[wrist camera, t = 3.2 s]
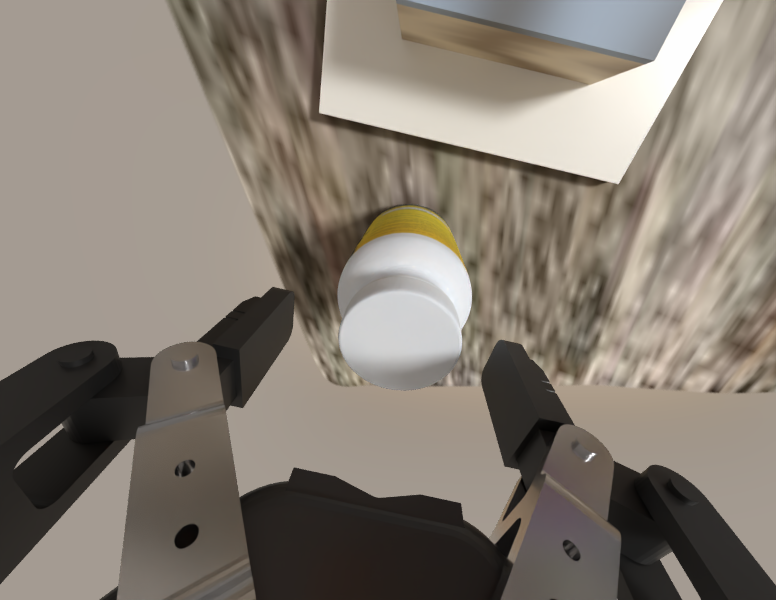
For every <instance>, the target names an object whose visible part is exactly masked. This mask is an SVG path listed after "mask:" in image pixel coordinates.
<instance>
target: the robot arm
mask: <svg viewBox="0 0 776 600" xmlns="http://www.w3.org/2000/svg"><path fill="white" fill-rule="evenodd" d="M293 315H294V292H293V291H288V290H284V289H280V288H275V287H272V288H271V289H270V290H269V291H268V292H267V293H266V294H265V295H264V296H262V297H261V298H260V297H253V298H250V299H248V300H246V301H243V302H242V303H241V304H239V305H238V306H237V307H236V308H235V309H234V310H233V312H230V313H229V314H228V315H227V316H226V318H223V319H222V320H221V321H220V322H219V323H218V324H216V325H215V326H214V327H213V328H212V329H211V330H210V331H208V332H207V333H206V334H205V335H204V336H203V337H202V338H200V339H199V340H198V341H197V342H184V343H180V344H176V345H173V346H170V347H168V348H166V349H164V350H162V351H161V352H159V353H158V354H157V355H156V356H155V357H138V358H119V355H118V352H117V349H116V347H115V346H114V345H113V344H111V343H108V342H104V341H84V342H78V343H73V344H69V345H66V346H63V347H60V348H57V349H55V350H53V351H51V352H49V353H47V354H45V355H43V356H42V357H40V358H38V359H37V360H35V361H33V362H32V363H30V364H28V365H27V366H25V367H23V368H22V369H20V370H18V371H16V372H15V373H13V374H11V375H10V376H8V377H7V378H5V379H3V380H1V381H0V584H1V583H2V582H3V581H4V579H5V578H6V577H7V576H8V575H9V574H10V573H11V572H12V571H13V569H14V568H15V567H16V566H17V565H18V564H19V563H20V562H21V561H22V560H23V558H24V557H25V556H26V555H27V554H28V553H29V552H30V551H31V550H32V549H33V547H34V546H35V545H36V544H37V543H38V542H39V541H40V540H41V539H42V537H43V536H44V535H45V534H46V533H47V532H48V531H49V529H51V528H52V526H53V525H54V524H55V523H56V522H57V521H58V520H59V519H60V518H61V516H62V515H63V514H64V513H65V512H66V511H67V510H68V509H69V508H70V507H71V505H72V504H73V503H74V502H75V501H76V500H77V499H78V498H79V496H80V495H81V494H82V493H83V492H84V491H85V490H86V489H87V488H88V487H89V486H90V484H91V483H92V482H93V481H94V480H95V479H96V478H97V477H98V475H99V474H100V473H101V472H102V471H103V470H104V469H105V468H106V466H107V465H108V464H109V463H110V462H111V461H112V460H113V459H114V458H115V457H116V456H117V455H118V453H119V452H120V451H121V450H122V449H123V448H124V447H125V446H126V445H127V443H128V442H129V441H130V440H131V439H135V447H134V455H133V465H132V473H131V481H130V490H129V498H128V508H127V516H126V524H125V533H124V541H123V550H122V559H121V567H120V576H119V584H118V586H117V587H116V588H115V589H114V590H112V591H110V592H109V593H108V594H106V595H105V596H104V597H102V598H101V599H100V600H617V599H618V600H682V599H681V597H680V595H679V593H678V592H677V590H676V588H675V586H674V585H673V583H672V581H671V579H670V577H669V575H668V574H667V572H666V570H665V568H664V566H663V565H662V563H661V561H660V559H661V558H662V557H664V556H665V555H667V554H669V553H670V552H672V551H673V553H674V554H675V556H676V558H677V559H678V561H679V563H680V564H681V566H682V568H683V569H684V571H685V572H686V574H687V576H688V577H689V579H690V581H691V582H692V584H693V586H694V588H695V589H696V591H697V592H698V594H699V596H700V598H701V600H776V585H775V584H774V583H773V581H772V580H771V579H770V577H769V576H768V575H767V574H766V573H765V571H764V570H763V569H762V567H761V566H760V565H759V564H758V562H757V561H756V560H755V559H754V557H753V556H752V555H751V553H750V552H749V551H748V550H747V549H746V547H745V546H744V545H743V543H742V542H741V541H740V540H739V538H738V537H737V536H736V535H735V533H734V532H733V531H732V529H731V528H730V527H729V526H728V524H727V523H726V522H725V521H724V519H723V518H722V517H721V516H720V514H719V513H718V512H717V511H716V509H715V508H714V507H713V505H712V504H711V503H710V502H709V500H707V498H706V497H705V496H704V495H703V494H702V493H701V492H700V491H699V490H698V489H697V488H696V487H695V486H694V485H693V484H692V483H690V482H689V481H688V480H686V479H685V478H684V477H682V476H681V475H679V474H678V473H676V472H674V471H672V470H670V469H668V468H666V467H663V466H659V465H651V466H649V467H648V468H647V469H646V470H645V471H644V472H642V473H641V474H640V473H638V472H636V471H634V470H632V469H630V468H628V467H625V466H623V465H621V464H619V463H617V462H615V461H613V458H612V456H611V454H610V453H609V451H608V450H607V448H606V447H605V446H604V445H603V444H602V443H601V442H600V441H599V440H598V439H597V438H596V437H594V436H593V435H592V434H590V433H589V432H587V431H586V430H584V429H582V428H580V427H577V426H575V425H574V423H573V422H572V420H571V418H570V416H569V415H568V413H567V411H566V409H565V408H564V406H563V404H562V403H561V401H560V399H559V397H558V396H557V394H556V393H555V390H554V389H553V387H552V385H551V384H549V380H548V378H547V376H546V375H545V373H544V371H543V370H542V369H541V368H540V367H539V366H538V365H537V364H536V363H535V362H534V361H533V360H530V359H529V357H528V355H527V353H526V351H525V349H524V348H523V346H522V345H521V344H518V343H514V342H509V341H505V340H499V341H498V342H497V344H496V345H495V347H494V349H493V351H492V353H491V355H490V357H489V359H488V361H487V363H486V365H485V367H484V369H483V372H482V379H481V382H482V387H483V391H484V394H485V398H486V401H487V405H488V409H489V412H490V416H491V419H492V423H493V427H494V430H495V433H496V437H497V441H498V444H499V448H500V452H501V455H502V459H503V462H504V466H505V467H511V468H515V469H519V470H520V473H521V475H522V476H521V477H520V478H519V480H518V481H517V483H516V485H515V487H514V489H513V491H512V493H511V495H510V497H509V500H508V502H507V504H506V506H505V508H504V510H503V512H502V515H501V517H500V519H499V521H498V523H497V525H496V527H495V529H494V531H493V532H492V534H491V536H490V537H489V538H487V537H486V536H485V535H484V534H483V533H482V532H481V531H479V530H478V529H477V528H476V527H474V526H473V525H471V524H470V523H468V522H467V521H465V520H463V515H462V507H461V503H457V502H452V501H448V500H442V499H439V498H434V497H429V496H424V495H410V496H398V497H386V498H376V497H373V496H371V495H369V494H368V493H366V492H364V491H362V490H360V489H358V488H356V487H354V486H352V485H350V484H349V483H347V482H345V481H343V480H341V479H339V478H337V477H336V476H331V475H327V474H321V473H317V472H312V471H307V470H303V469H299V468H294V469H293V471H292V474H291V476H290V479H289V481H286V482H278V483H273V484H269V485H266V486H263V487H260V488H257V489H255V490H253V491H250V492H248V493H246V494H244V495H243V496H241V497H239V492H238V485H237V479H236V473H235V466H234V460H233V454H232V448H231V441H230V434H229V428H228V422H227V415H226V410H227V409H228V408H229V406H230V405H231V406H236V407H240V408H243V407H244V406H245V404H246V403H247V401H248V400H249V398H250V397H251V395H252V394H253V392H254V391H255V389H256V388H257V386H258V385H259V383H260V382H261V380H262V379H263V377H264V376H265V374H266V373H267V371H268V370H269V368H270V367H271V365H272V364H273V362H274V361H275V360H276V358H277V357H278V355H279V353H280V352H281V351H282V349H283V347H284V346H285V345H286V343H287V342H288V340H289V338H290V335H291V332H292V328H293ZM61 423H62V425H63V427H64V428H63V429H62V430H60V431H59V432H58V433H57V434H56V435H55V436H53V437H52V438H51V439H50V440H49V441H47V442H46V443H45V444H44V445H43V446H41V448H39V449H38V450H37V451H36V452H34V453H33V454H32V455H31V456H30V457H29V458H27V459H26V460H25V461H24V462H23V463H21V464H20V465H19V466H18V467H17V468H15V466H16V464H17V463H18V461H19V460H20V459H21V457H22V456H23V455H24V454H25V453H26V452H27V451H28V450H29V449H31V448H32V447H33V446H34V445H36V444H37V443H38V442H39V441H40V440H42V439H43V438H44V437H45V436H46V435H48V434H49V433H50V432H51V431H52V430H53V429H55V428H56V427H57V426H58V425H60V424H61ZM14 468H15V469H14Z"/></svg>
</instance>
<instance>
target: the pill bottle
mask: <svg viewBox="0 0 776 600" xmlns="http://www.w3.org/2000/svg"><path fill="white" fill-rule="evenodd" d="M471 303H472V290H471V284H470V280H469V276H468V273H467V270H466V267H465V265H464V262H463V260H462V257H461V255H460V252H459V250H458V247H457V244H456V242H455V240H454V237H453V235H452V232H451V230H450V228H449V226H448V225H447V223H446V222H445V221H444V219H443V218H442V217H441V216H440V215H439V214H437V213H436V212H434V211H433V210H431V209H429V208H427V207H424V206H421V205H415V204H403V205H398V206H394V207H392V208H389V209H387V210H386V211H384V212H382V213H381V214H380V215H379V216H378V217H377V218H376V219H375V220H374V221H373V222H372V223H371V225H370V226H369V228H368V229H367V231H366V233H365V234H364V236H363V237H362V239H361V240H360V242H359V244H358V245H357V247H356V248H355V250H354V252H353V254H352V255H351V257H350V258H349V260H348V261H347V263H346V265H345V267H344V269H343V271H342V274H341V277H340V280H339V284H338V305H339V310H340V313H341V316H342V321H341V324H340V328H339V335H338V339H339V347H340V350H341V353H342V355H343V357H344V359H345V361H346V362H347V364H348V365H349V366H350V368H351V369H352V370H353V371H354V372H355V373H356V374H358V375H359V376H360V377H362V378H363V379H364V380H366V381H368V382H370V383H372V384H374V385H377V386H379V387H383V388H386V389H392V390H404V391H406V390H416V389H420V388H424V387H428V386H430V385H432V384H434V383H436V382H438V381H439V380H441V379H443V378H444V377H445V376H446V375H448V374H449V373H450V371H451V370H452V369H453V368H454V366H455V365H456V363H457V361H458V359H459V357H460V353H461V348H462V334H461V329H462V328H463V326H464V324H465V323H466V321H467V318H468V316H469V312H470V309H471Z"/></svg>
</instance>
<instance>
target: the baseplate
mask: <svg viewBox="0 0 776 600" xmlns="http://www.w3.org/2000/svg"><path fill="white" fill-rule="evenodd" d="M722 1H723V0H686V2H685V4H684V6H683V7H682V9H681V11H680V13H679V15H678V17H677V19H676V21H675V23H674V25H673V27H672V28H671V30H670V32H669V34H668V36H667V38H666V40H665V42H664V44H663V46H662V48H661V49H660V51H659V53H658V55H657V57H656V59H655V61H653V62H650V63H647V64H645V65H642V66H639V67H637V68H634V69H631V70H629V71H626V72H623V73H621V74H618V75H615V76H613V77H610V78H607V79H604V80H602V81H599V82H596V83H594V84H591V85H589V84H585V83H581V82H577V81H573V80H569V79H564V78H560V77H556V76H552V75H548V74H544V73H540V72H536V71H531V70H527V69H523V68H519V67H515V66H511V65H507V64H503V63H498V62H494V61H490V60H486V59H482V58H478V57H474V56H470V55H466V54H461V53H457V52H453V51H449V50H445V49H441V48H437V47H433V46H428V45H424V44H420V43H416V42H412V41H408V40H404V39H402V36H401V30H400V23H399V17H398V10H397V4H396V0H327V8H326V22H325V36H324V51H323V65H322V79H321V93H320V107H319V113H321V114H324V115H328V116H332V117H337V118H341V119H345V120H349V121H353V122H358V123H362V124H366V125H370V126H374V127H379V128H383V129H387V130H391V131H395V132H400V133H404V134H408V135H412V136H416V137H421V138H425V139H429V140H433V141H437V142H442V143H446V144H450V145H454V146H459V147H463V148H467V149H471V150H475V151H480V152H484V153H488V154H492V155H496V156H501V157H505V158H509V159H513V160H517V161H522V162H526V163H530V164H534V165H538V166H543V167H547V168H551V169H555V170H559V171H564V172H568V173H572V174H576V175H580V176H585V177H589V178H593V179H597V180H601V181H606V182H610V183H616V184H619V182H620V180H621V179H622V177H623V175H624V173H625V172H626V170H627V168H628V166H629V165H630V163H631V161H632V159H633V158H634V156H635V154H636V152H637V151H638V149H639V147H640V145H641V144H642V142H643V140H644V138H645V137H646V135H647V133H648V131H649V129H650V128H651V126H652V124H653V122H654V121H655V119H656V117H657V115H658V114H659V112H660V110H661V108H662V107H663V105H664V103H665V101H666V100H667V98H668V96H669V94H670V93H671V91H672V89H673V87H674V86H675V84H676V82H677V80H678V79H679V77H680V75H681V73H682V72H683V70H684V68H685V66H686V65H687V63H688V61H689V59H690V58H691V56H692V54H693V52H694V51H695V49H696V47H697V45H698V44H699V42H700V40H701V38H702V37H703V35H704V33H705V31H706V30H707V28H708V26H709V24H710V22H711V21H712V19H713V17H714V15H715V14H716V12H717V10H718V8H719V7H720V5H721V3H722Z"/></svg>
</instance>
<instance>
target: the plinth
mask: <svg viewBox="0 0 776 600" xmlns="http://www.w3.org/2000/svg"><path fill="white" fill-rule="evenodd" d="M685 2H686V0H396V4H397V10H398V17H399V23H400V30H401V36H402V39H404V40H408V41H412V42H416V43H420V44H424V45H428V46H433V47H437V48H441V49H445V50H449V51H453V52H457V53H461V54H466V55H470V56H474V57H478V58H482V59H486V60H490V61H494V62H498V63H503V64H507V65H511V66H515V67H519V68H523V69H527V70H531V71H536V72H540V73H544V74H548V75H552V76H556V77H560V78H564V79H569V80H573V81H577V82H581V83H585V84H589V85H591V84H594V83H596V82H599V81H602V80H604V79H607V78H610V77H613V76H615V75H618V74H621V73H623V72H626V71H629V70H631V69H634V68H637V67H639V66H642V65H645V64H647V63H650V62H653V61H655V59H656V57H657V55H658V53H659V51H660V49H661V48H662V46H663V44H664V42H665V40H666V38H667V36H668V34H669V32H670V30H671V28H672V27H673V25H674V23H675V21H676V19H677V17H678V15H679V13H680V11H681V9H682V7H683V6H684V4H685Z"/></svg>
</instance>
